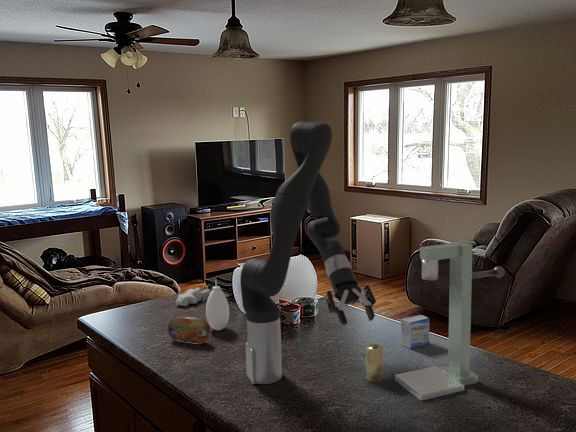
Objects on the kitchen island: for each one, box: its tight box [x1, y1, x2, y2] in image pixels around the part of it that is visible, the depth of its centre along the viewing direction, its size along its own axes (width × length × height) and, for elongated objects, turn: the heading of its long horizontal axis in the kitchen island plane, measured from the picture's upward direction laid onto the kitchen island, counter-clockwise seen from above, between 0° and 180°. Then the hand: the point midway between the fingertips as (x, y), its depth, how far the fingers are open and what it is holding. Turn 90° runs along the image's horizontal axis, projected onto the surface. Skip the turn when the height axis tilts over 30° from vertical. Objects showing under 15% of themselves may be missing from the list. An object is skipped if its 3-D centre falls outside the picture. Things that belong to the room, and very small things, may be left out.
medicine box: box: [400, 314, 430, 350], centre depth 161 cm, size 8×4×9 cm, turn 117°
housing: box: [365, 343, 384, 383], centre depth 139 cm, size 4×4×9 cm
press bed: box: [394, 241, 506, 401], centre depth 136 cm, size 30×12×37 cm, turn 110°
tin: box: [167, 315, 211, 345], centre depth 169 cm, size 15×3×8 cm, turn 68°
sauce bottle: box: [205, 280, 230, 331], centre depth 178 cm, size 8×8×18 cm
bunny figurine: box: [175, 287, 212, 307], centre depth 211 cm, size 10×5×15 cm
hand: (358, 321), depth 146 cm, fingers open, 8 cm apart
